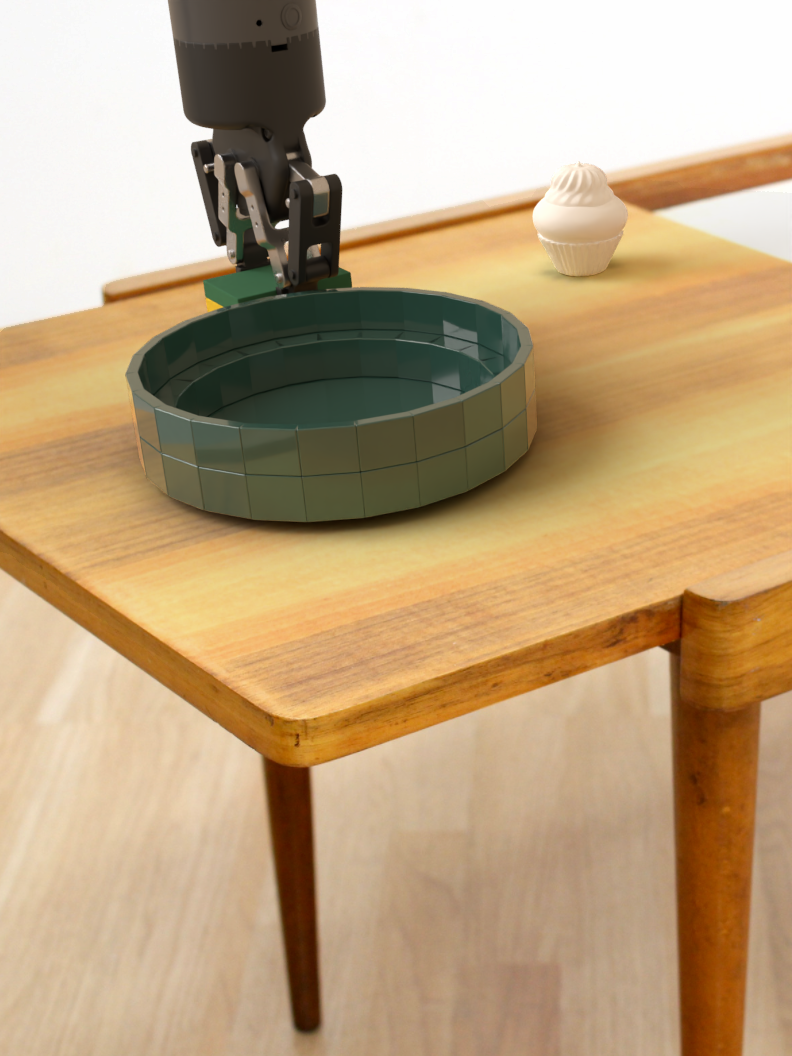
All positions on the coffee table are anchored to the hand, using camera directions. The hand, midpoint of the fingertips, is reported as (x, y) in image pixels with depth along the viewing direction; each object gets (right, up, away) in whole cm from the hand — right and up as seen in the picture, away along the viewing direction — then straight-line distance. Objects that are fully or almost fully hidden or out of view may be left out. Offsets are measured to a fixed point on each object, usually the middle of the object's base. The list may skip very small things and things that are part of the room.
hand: (283, 335), depth 88 cm
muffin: (+17, +6, +12) cm, 22 cm away
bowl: (+5, -7, -12) cm, 15 cm away
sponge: (0, 0, 0) cm, 1 cm away
